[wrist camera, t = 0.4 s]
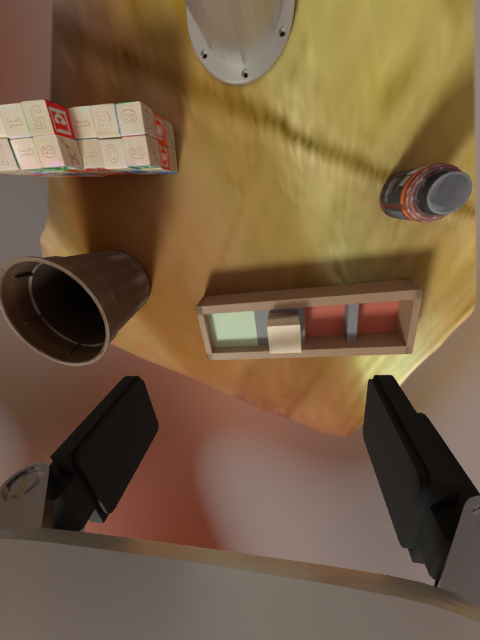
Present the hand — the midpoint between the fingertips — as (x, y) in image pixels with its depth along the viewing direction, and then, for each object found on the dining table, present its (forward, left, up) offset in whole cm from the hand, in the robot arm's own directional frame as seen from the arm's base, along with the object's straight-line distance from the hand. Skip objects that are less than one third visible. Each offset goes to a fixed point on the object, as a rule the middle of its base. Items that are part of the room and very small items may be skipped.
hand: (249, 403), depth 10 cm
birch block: (+13, +1, -31) cm, 34 cm away
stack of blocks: (-17, -24, -35) cm, 45 cm away
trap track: (+13, +4, -34) cm, 37 cm away
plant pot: (+3, -30, -35) cm, 46 cm away
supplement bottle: (-5, +18, -35) cm, 39 cm away
